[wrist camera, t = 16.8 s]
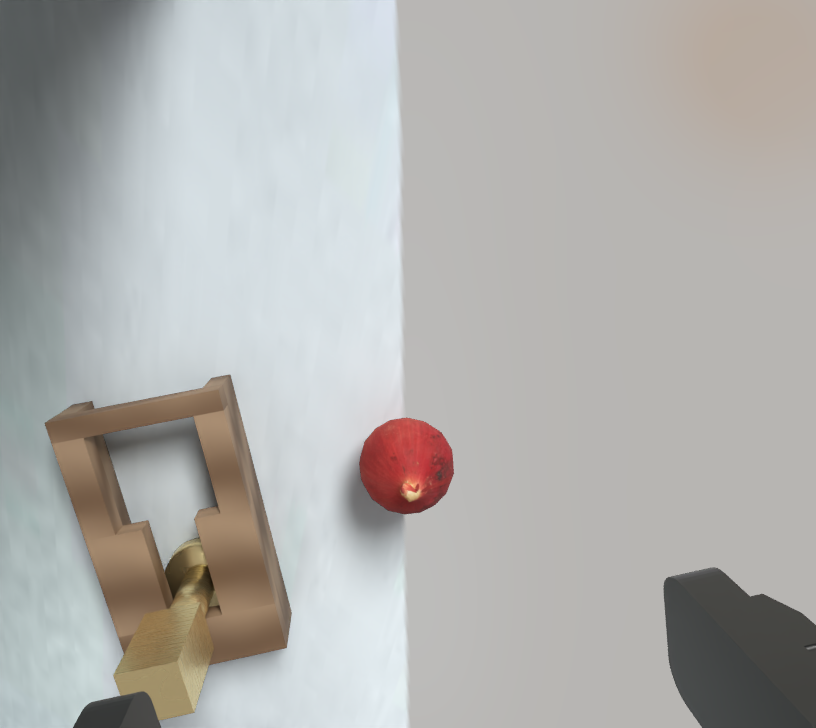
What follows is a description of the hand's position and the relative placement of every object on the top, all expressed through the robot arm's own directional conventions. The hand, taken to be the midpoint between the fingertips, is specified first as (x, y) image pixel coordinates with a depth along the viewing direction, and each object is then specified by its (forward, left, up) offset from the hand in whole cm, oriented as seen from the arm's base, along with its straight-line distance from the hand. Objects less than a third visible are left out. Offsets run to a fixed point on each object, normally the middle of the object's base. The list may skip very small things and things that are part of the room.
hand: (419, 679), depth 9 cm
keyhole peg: (+14, -14, -30) cm, 36 cm away
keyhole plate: (+10, -14, -30) cm, 35 cm away
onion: (+8, +1, -30) cm, 31 cm away
